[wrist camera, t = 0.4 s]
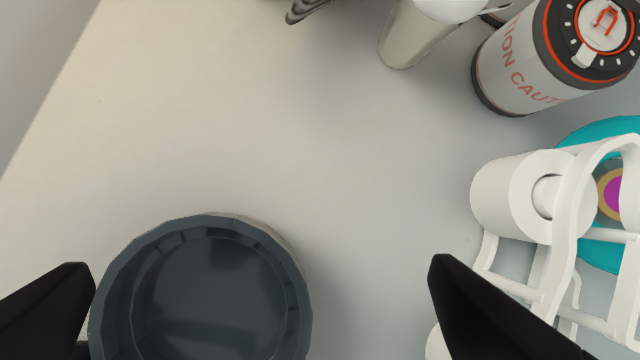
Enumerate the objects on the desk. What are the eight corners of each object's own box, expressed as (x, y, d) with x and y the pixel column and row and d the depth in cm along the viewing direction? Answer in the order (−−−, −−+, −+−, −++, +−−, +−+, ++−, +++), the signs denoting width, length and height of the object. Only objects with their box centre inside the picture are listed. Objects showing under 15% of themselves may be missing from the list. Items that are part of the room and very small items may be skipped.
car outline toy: (474, 130, 25) (552, 102, 18) (603, 175, 26) (728, 167, 18) (399, 393, 23) (449, 483, 16) (538, 433, 24) (647, 536, 17)
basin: (339, 332, 23) (349, 360, 19) (180, 431, 22) (155, 483, 18) (254, 180, 23) (247, 177, 19) (89, 269, 22) (46, 286, 18)
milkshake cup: (399, 99, 25) (473, 32, 15) (357, 41, 24) (403, -66, 15) (444, 66, 25) (547, -21, 15) (404, 9, 25) (479, -116, 15)
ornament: (666, 103, 23) (514, 156, 28) (694, 84, 20) (514, 149, 24) (751, 250, 21) (569, 281, 26) (802, 261, 17) (578, 295, 22)
